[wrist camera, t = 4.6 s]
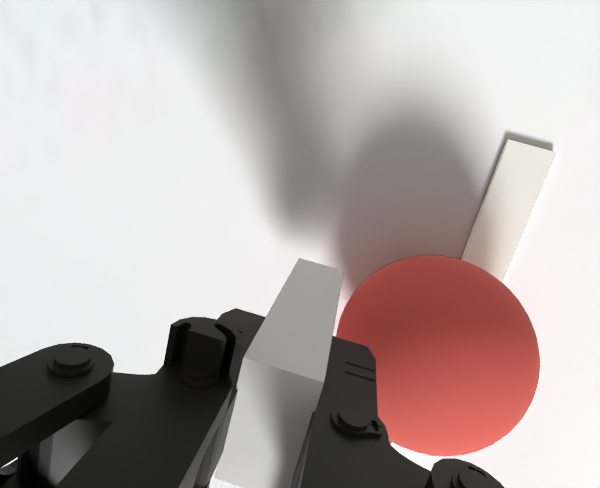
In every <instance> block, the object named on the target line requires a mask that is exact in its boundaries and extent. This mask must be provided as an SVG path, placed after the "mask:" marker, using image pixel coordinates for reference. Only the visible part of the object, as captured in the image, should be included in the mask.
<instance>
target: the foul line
mask: <svg viewBox="0 0 600 488" xmlns="http://www.w3.org/2000/svg"><path fill="white" fill-rule="evenodd" d="M555 154H556V152H554V151H550V150H546V149H542V148H539V147H535V146H531V145H528V144H524V143H520V142H516V141H513V140H509V139H507V140H506V143H505V145H504V148H503V151H502V153H501V156H500V159H499V161H498V164H497V166H496V169H495V172H494V174H493V177H492V179H491V182H490V185H489V187H488V190H487V192H486V195H485V198H484V200H483V203H482V205H481V208H480V211H479V213H478V216H477V218H476V221H475V224H474V226H473V229H472V231H471V234H470V237H469V239H468V242H467V245H466V247H465V250H464V252H463V255H462V258H461V260H463V261H466V262H469V263H471V264H473V265H476V266H478V267H480V268H482V269H483V270H485V271H486V272H488V273H490V274H491V275H493V276H494V277H496V278H497V279H498V280H499V281H501V282H502V281H503V279H504V276H505V274H506V271H507V269H508V267H509V264H510V262H511V259H512V257H513V255H514V252H515V250H516V247H517V245H518V243H519V240H520V238H521V236H522V233H523V231H524V228H525V226H526V224H527V221H528V219H529V216H530V214H531V212H532V209H533V207H534V204H535V202H536V200H537V197H538V195H539V192H540V190H541V188H542V185H543V183H544V180H545V178H546V176H547V173H548V171H549V168H550V166H551V164H552V161H553V159H554V156H555ZM390 445H391V446H392V447H393V448H394V449H396V450H397V451H398V452H399V453H400V454H402V455H403V456H405V457H406V458H408V459H409V460H411V461H413V462H415V463H416V464H418V465H420V466H422V467H423V468H425V466H426V463H427V461H428V458H429V456H430V455H427V454H422V453H417V452H414V451H412V450H409V449H406V448H403V447H401V446H399V445H397V444H395V443H393V442H391V443H390Z"/></svg>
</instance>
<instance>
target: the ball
mask: <svg viewBox="0 0 600 488" xmlns="http://www.w3.org/2000/svg"><path fill="white" fill-rule="evenodd" d="M336 337H338V338H341V339H345V340H348V341H351V342H355V343H358V344H361V345H365V346H368V348H369V349H370V351H371V352H372V354H373V355H374V357H375V358H376V379H377V381H376V383H377V407H378V417H379V418H380V420H381V421H382V422H383V423H384V425H385V427H386V430H387V433H388V437H389V441H391V442H393V443H395V444H397V445H399V446H401V447H403V448H406V449H409V450H412V451H414V452H417V453H422V454H427V455H432V456H455V455H464V454H468V453H472V452H476V451H478V450H481V449H483V448H485V447H488V446H490V445H492V444H494V443H495V442H497V441H498V440H500V439H501V438H502V437H504V436H505V435H507V434H508V433H509V432H510V431H511V430H512V429H513V428H514V427H515V426H516V425H517V424H518V423H519V421H520V420H521V419H522V418H523V416H524V414H525V413H526V411H527V409H528V407H529V406H530V404H531V402H532V400H533V397H534V394H535V391H536V388H537V384H538V378H539V369H540V357H539V349H538V343H537V338H536V334H535V331H534V329H533V326H532V324H531V321H530V319H529V317H528V315H527V313H526V311H525V310H524V308H523V307H522V305H521V303H520V302H519V300H518V299H517V298H516V297H515V296H514V294H513V293H512V292H511V291H510V290H509V289H508V288H507V287H506V286H505V285H504V284H503V283H502V282H501V281H499V280H498V279H497V278H496V277H494V276H493V275H491V274H490V273H488V272H486V271H485V270H483V269H482V268H480V267H478V266H476V265H473V264H471V263H469V262H466V261H463V260H460V259H456V258H451V257H445V256H436V255H425V256H415V257H410V258H405V259H402V260H399V261H396V262H393V263H390V264H388V265H386V266H384V267H383V268H381V269H379V270H378V271H376V272H375V273H373V274H372V275H370V276H369V277H368V278H367V279H366V280H365V281H364V282H363V283H362V284H361V285H360V286H359V287H358V288H357V289H356V291H355V292H354V293H353V294H352V296H351V298H350V299H349V301H348V302H347V304H346V306H345V308H344V311H343V313H342V315H341V318H340V321H339V325H338V329H337V334H336Z"/></svg>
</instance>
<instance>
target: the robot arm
mask: <svg viewBox="0 0 600 488" xmlns="http://www.w3.org/2000/svg"><path fill="white" fill-rule="evenodd" d="M343 273H344V271H342V270H339V269H335V268H332V267H328V266H325V265H321V264H318V263H314V262H311V261H307V260H304V259H300V258H299V259H298V261H297V263H296V265H295V266H294V268H293V270H292V272H291V274H290V275H289V277H288V279H287V281H286V282H285V284H284V286H283V288H282V290H281V291H280V293H279V295H278V297H277V298H276V300H275V302H274V304H273V306H272V307H271V309H270V311H269V313H268V314H267V316H266V317H263V316H260V315H256V314H253V313H250V312H246V311H243V310H240V309H233V310H231V311H228V312H226V313H223V314H222V315H221V316H220V317H219V318H218V319H217V320H216V319H211V318H206V317H190V318H185V319H180V320H178V321H176V322H175V323H173V324H171V327H170V333H169V338H168V344H167V349H166V355H165V360H164V365H163V366H162V367H161V368H160V369H159V371H158V372H157V373H156V374H151V375H136V374H125V373H115V372H113V367H114V362H113V360H112V357H111V355H110V354H108V353H107V352H106V351H105V350H103V349H101V348H98V347H96V346H93V345H90V344H81V343H67V344H58V345H54V346H51V347H47V348H44V349H41V350H39V351H37V352H34V353H32V354H30V355H27V356H25V357H23V358H20V359H18V360H16V361H13V362H11V363H9V364H6V365H4V366H2V367H0V488H209V484H210V479H211V477H212V475H213V473H214V471H215V468H216V466H217V469H216V473H215V478H217V479H220V480H223V481H226V482H229V483H232V484H235V485H238V486H241V487H244V488H504V487H503V486H502V485H501V483H500V482H498V481H497V480H496V479H495V478H493V477H492V476H491V475H490V474H489V473H487V472H486V471H484V470H483V469H481V468H479V467H477V466H476V465H473V464H471V463H469V462H466V461H462V460H459V459H442V460H440V461H438V462H436V463H435V464H434V465H433V468H432V470H431V472H430V471H429V470H427V469H425V468H423V467H422V466H420V465H418V464H416V463H415V462H413V461H411V460H409V459H408V458H406V457H405V456H403V455H402V454H400V453H399V452H398V451H397V450H396V449H394V448H393V447H392V446H391V445H390V444H389V437H388V433H387V430H386V427H385V425H384V423H383V422H382V421H381V420H380V418H379V417H378V407H377V383H376V381H377V379H376V358H375V357H374V355H373V354H372V352H371V351H370V349H369V348H368V346H365V345H361V344H358V343H355V342H351V341H348V340H345V339H341V338H338V337H335V336H332V335H333V330H334V324H335V318H336V313H337V307H338V301H339V296H340V290H341V284H342V279H343ZM17 457H18V459H17V460H15V461H14V462H12V463H11V464H9V465H7V466H5V467H2V466H4V465H6V464H7V463H9V462H10V461H12V460H13V459H15V458H17ZM217 464H218V465H217ZM1 467H2V468H1Z"/></svg>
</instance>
